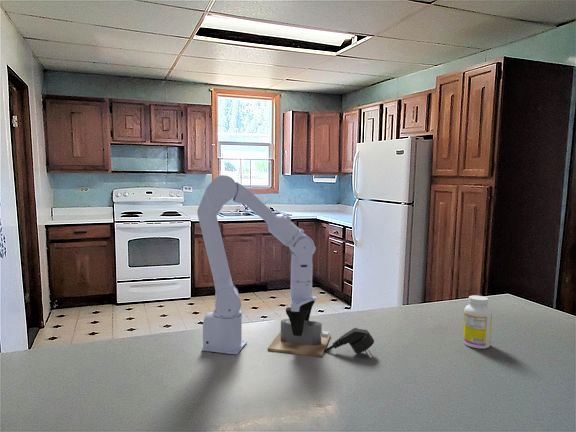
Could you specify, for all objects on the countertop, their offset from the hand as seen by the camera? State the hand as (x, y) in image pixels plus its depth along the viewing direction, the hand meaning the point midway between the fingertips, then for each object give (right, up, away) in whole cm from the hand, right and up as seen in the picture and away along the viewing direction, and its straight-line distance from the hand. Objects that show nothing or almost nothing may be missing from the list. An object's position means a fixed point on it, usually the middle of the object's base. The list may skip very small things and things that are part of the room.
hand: (300, 330), depth 109 cm
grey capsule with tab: (0, -3, 0) cm, 3 cm away
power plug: (+12, -5, -6) cm, 14 cm away
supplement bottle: (+47, -4, +1) cm, 47 cm away
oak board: (0, -4, 0) cm, 3 cm away
